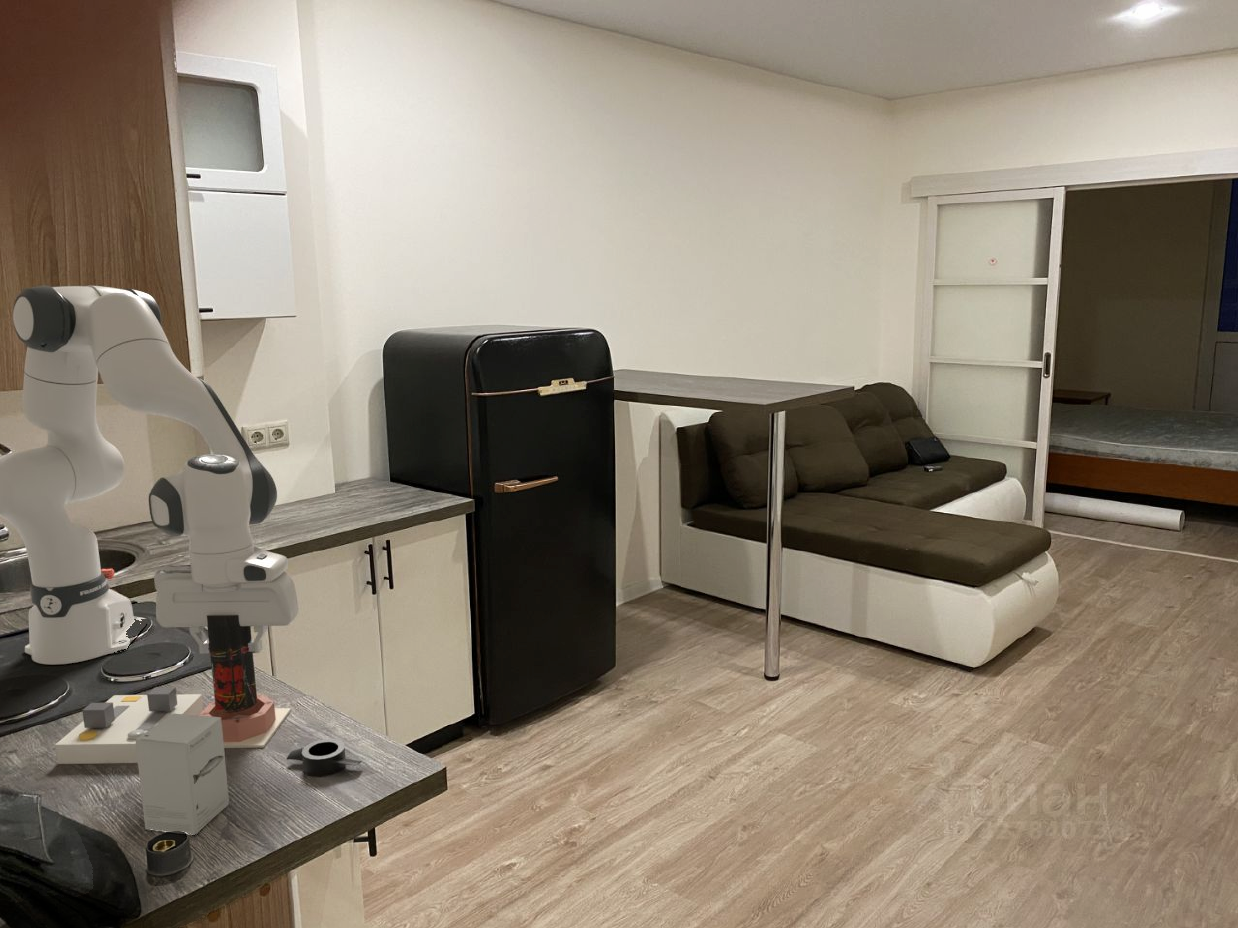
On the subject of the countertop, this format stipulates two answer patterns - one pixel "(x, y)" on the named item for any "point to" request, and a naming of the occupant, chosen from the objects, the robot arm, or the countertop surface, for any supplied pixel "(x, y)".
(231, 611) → the robot arm
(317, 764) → the black finned ring
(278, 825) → the countertop surface
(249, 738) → the ring
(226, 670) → the deodorant
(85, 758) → the breaker panel
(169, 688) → the untagged switch
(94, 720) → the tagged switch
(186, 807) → the supplement box
